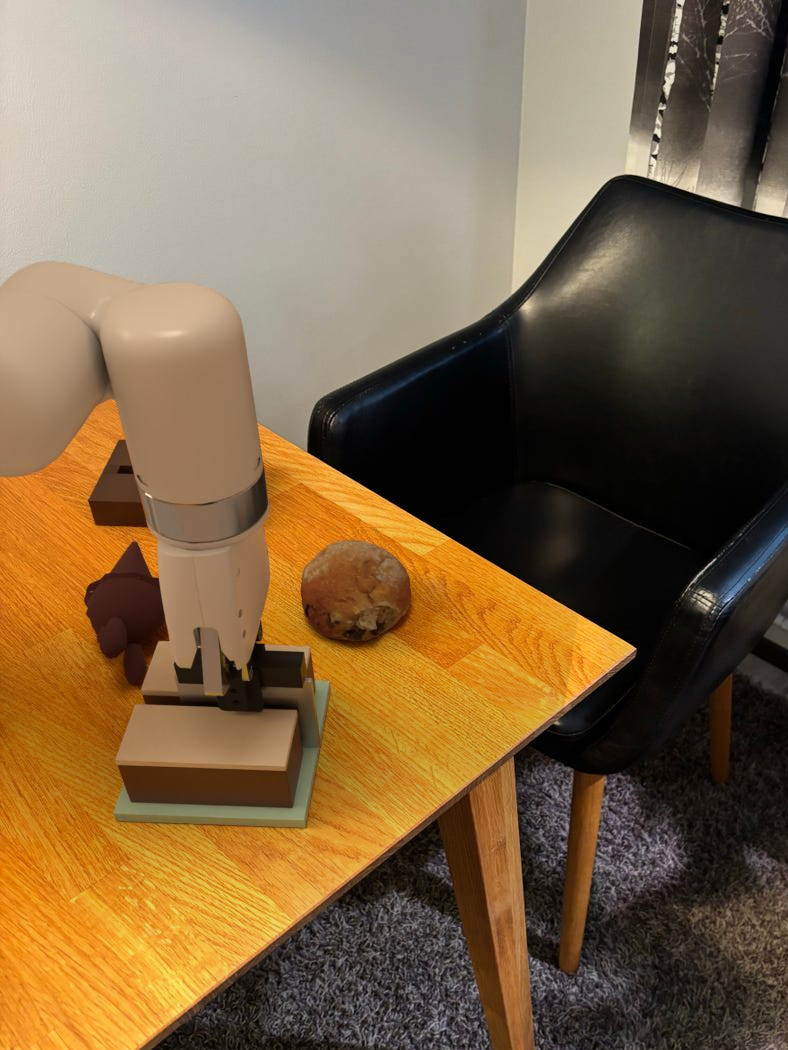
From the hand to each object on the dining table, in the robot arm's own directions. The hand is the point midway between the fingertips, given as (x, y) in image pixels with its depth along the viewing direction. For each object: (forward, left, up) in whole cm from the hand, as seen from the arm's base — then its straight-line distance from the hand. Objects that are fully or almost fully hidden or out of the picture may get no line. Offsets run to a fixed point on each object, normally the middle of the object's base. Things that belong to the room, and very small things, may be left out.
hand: (245, 694), depth 74 cm
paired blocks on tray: (-2, 0, -7) cm, 7 cm away
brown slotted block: (-14, +33, -7) cm, 37 cm away
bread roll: (+6, +17, -7) cm, 19 cm away
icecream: (-13, +13, -7) cm, 20 cm away
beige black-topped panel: (0, 0, -6) cm, 6 cm away
